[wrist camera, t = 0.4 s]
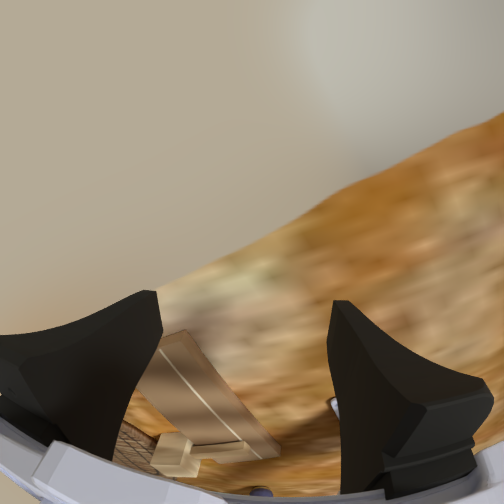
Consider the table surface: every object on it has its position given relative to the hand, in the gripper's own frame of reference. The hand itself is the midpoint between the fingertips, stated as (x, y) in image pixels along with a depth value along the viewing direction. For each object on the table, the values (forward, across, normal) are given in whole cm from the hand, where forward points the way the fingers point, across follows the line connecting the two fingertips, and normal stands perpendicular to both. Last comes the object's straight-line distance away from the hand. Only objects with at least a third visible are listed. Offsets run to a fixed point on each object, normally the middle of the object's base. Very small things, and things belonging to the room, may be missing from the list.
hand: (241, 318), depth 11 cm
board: (+10, +6, +20) cm, 23 cm away
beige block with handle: (+10, +7, +27) cm, 29 cm away
